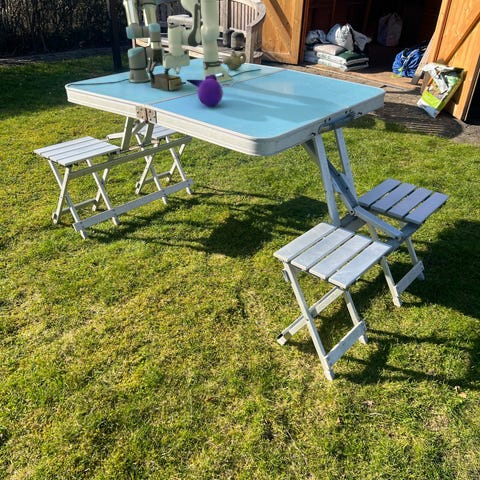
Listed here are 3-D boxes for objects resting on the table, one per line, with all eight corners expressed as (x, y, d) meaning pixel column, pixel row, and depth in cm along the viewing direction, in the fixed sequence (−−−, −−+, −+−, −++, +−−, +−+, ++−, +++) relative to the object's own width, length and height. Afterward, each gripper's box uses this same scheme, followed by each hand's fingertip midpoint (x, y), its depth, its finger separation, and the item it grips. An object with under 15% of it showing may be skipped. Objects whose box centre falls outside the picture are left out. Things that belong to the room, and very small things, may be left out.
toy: (210, 97, 288) (222, 112, 267) (183, 92, 280) (194, 107, 260) (215, 72, 280) (229, 85, 259) (188, 67, 272) (200, 80, 252)
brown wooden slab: (181, 88, 314) (180, 76, 309) (168, 91, 307) (167, 79, 303) (164, 84, 326) (163, 73, 322) (151, 87, 319) (150, 75, 315)
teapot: (226, 72, 363) (226, 52, 355) (220, 70, 372) (219, 50, 364) (249, 69, 372) (249, 50, 365) (242, 67, 381) (241, 48, 373)
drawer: (187, 88, 308) (186, 79, 305) (175, 91, 302) (174, 81, 299) (166, 84, 323) (165, 75, 320) (154, 86, 317) (153, 77, 314)
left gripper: (145, 51, 299) (149, 85, 310) (173, 47, 313) (176, 79, 324) (138, 50, 303) (143, 83, 314) (167, 46, 317) (170, 78, 328)
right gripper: (165, 54, 286) (167, 76, 293) (190, 51, 299) (191, 73, 306) (159, 53, 290) (161, 75, 297) (184, 50, 303) (186, 71, 310)
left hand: (160, 81), depth 319 cm, fingers closed on brown wooden slab, 11 cm apart
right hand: (177, 74), depth 301 cm, fingers closed
